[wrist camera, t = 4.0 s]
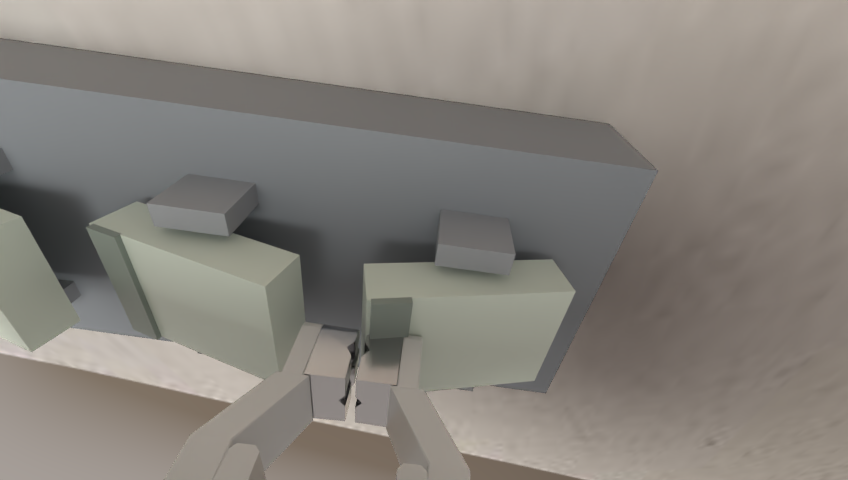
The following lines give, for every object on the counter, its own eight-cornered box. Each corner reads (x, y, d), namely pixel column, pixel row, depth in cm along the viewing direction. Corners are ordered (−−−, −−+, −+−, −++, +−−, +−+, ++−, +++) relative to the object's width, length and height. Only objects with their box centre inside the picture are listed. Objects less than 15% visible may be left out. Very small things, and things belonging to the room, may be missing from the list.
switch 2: (299, 255, 10) (260, 290, 9) (308, 352, 12) (278, 390, 11) (136, 201, 11) (82, 226, 10) (171, 298, 14) (131, 328, 12)
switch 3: (552, 259, 11) (578, 295, 10) (518, 346, 14) (536, 384, 12) (363, 263, 10) (367, 304, 9) (360, 358, 12) (363, 402, 11)
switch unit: (608, 123, 13) (692, 203, 9) (529, 325, 19) (552, 440, 14) (-72, 28, 13) (-371, 55, 8) (56, 260, 19) (-78, 353, 14)
